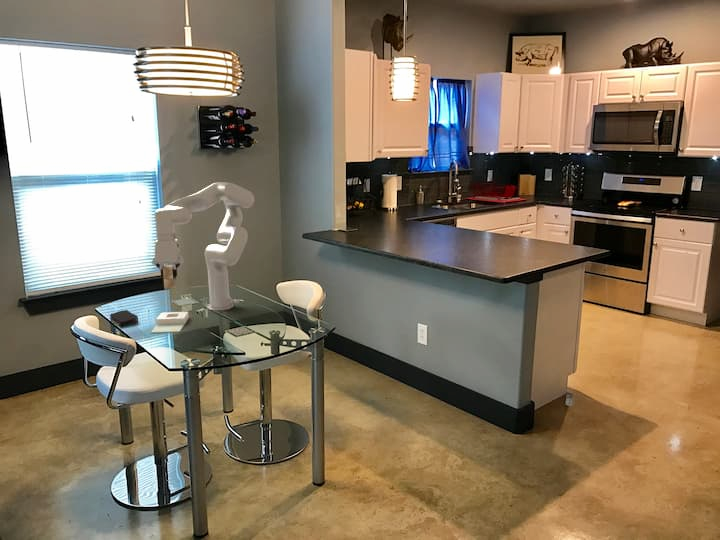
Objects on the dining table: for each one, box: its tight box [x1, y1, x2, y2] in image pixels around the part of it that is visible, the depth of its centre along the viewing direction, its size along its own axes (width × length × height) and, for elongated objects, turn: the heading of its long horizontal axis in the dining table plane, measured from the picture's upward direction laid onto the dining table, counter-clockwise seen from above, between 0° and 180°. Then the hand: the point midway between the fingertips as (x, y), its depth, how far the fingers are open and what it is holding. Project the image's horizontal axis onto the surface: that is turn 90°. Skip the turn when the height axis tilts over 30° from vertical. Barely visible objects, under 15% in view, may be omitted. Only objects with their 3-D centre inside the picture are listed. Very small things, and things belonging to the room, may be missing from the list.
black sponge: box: [109, 309, 139, 328], centre depth 261 cm, size 16×8×4 cm, turn 41°
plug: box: [163, 264, 176, 290], centre depth 255 cm, size 4×4×10 cm
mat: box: [150, 324, 185, 334], centre depth 250 cm, size 12×9×1 cm
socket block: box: [155, 311, 190, 326], centre depth 260 cm, size 12×10×4 cm
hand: (169, 277), depth 255 cm, fingers closed on plug, 4 cm apart
